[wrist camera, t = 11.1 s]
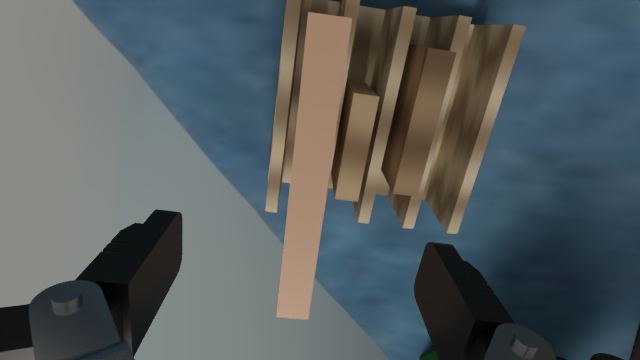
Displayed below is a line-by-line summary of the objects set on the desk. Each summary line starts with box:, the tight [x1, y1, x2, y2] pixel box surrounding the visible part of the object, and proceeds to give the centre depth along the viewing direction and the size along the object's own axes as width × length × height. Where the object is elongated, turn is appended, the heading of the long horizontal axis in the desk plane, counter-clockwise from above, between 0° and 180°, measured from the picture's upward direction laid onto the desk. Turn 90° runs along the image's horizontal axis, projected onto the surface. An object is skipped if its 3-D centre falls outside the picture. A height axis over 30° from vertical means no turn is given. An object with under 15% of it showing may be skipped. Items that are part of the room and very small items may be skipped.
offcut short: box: [331, 79, 379, 202], centre depth 34 cm, size 9×2×8 cm, turn 172°
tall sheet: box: [277, 12, 352, 320], centre depth 26 cm, size 14×2×22 cm, turn 173°
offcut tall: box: [381, 44, 457, 197], centre depth 32 cm, size 11×2×10 cm, turn 172°
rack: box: [265, 0, 526, 234], centre depth 34 cm, size 18×19×8 cm
